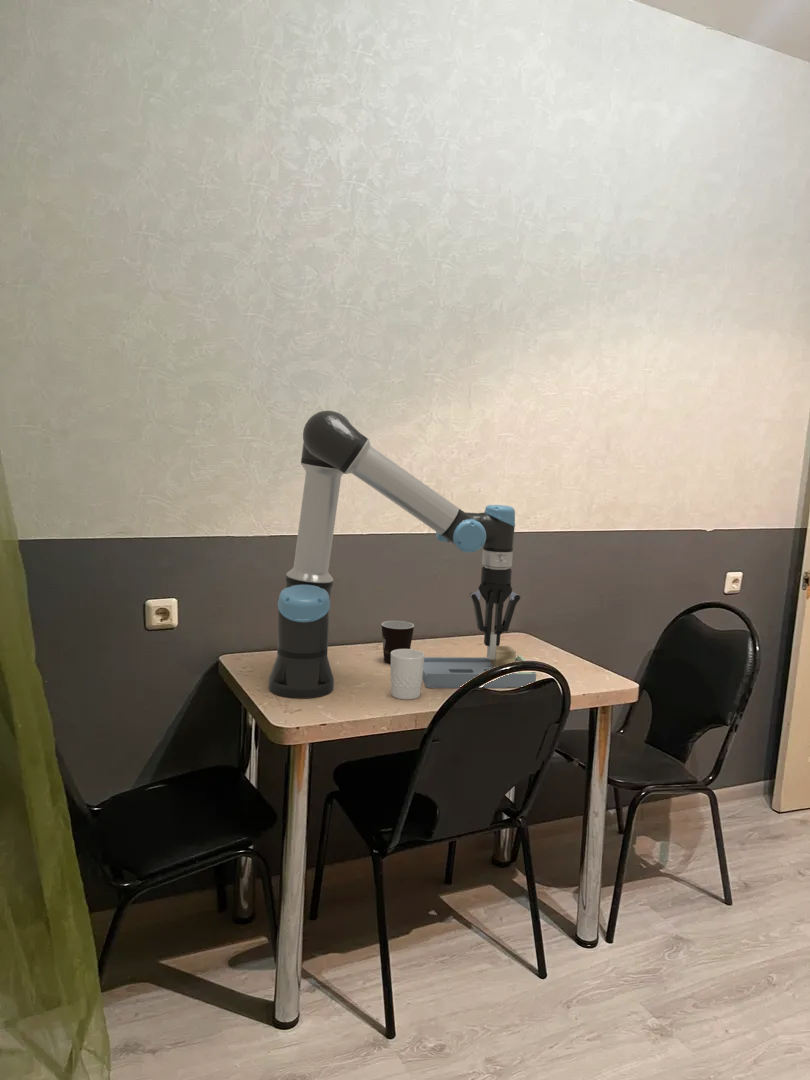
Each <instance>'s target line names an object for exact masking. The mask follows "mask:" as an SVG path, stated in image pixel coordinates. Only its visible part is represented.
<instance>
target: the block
mask: <svg viewBox="0 0 810 1080" xmlns="http://www.w3.org/2000/svg"><path fill="white" fill-rule="evenodd" d="M516 657H517V652H516V650H515V649H514V648H513V647H512V645H499V646H496V652H495V659H491V664H492V665H493V666H494V667H497V666H501V665H504V664H508V663H512V662H515V658H516Z"/></svg>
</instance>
